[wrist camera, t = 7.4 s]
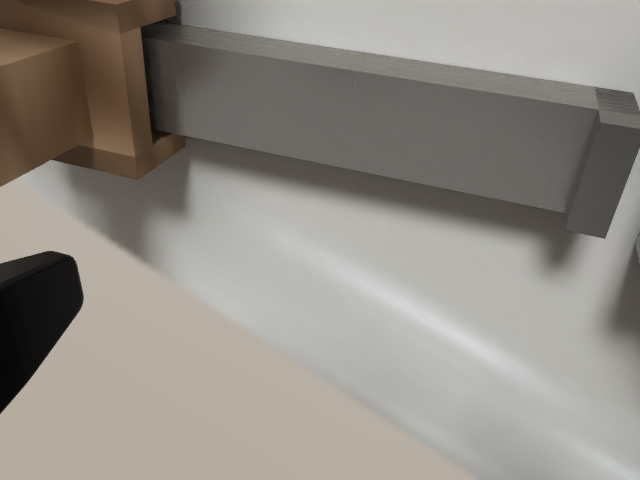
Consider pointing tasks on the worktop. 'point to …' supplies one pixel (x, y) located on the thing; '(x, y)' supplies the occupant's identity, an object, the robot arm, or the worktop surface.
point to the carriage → (78, 86)
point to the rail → (399, 118)
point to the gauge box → (638, 246)
